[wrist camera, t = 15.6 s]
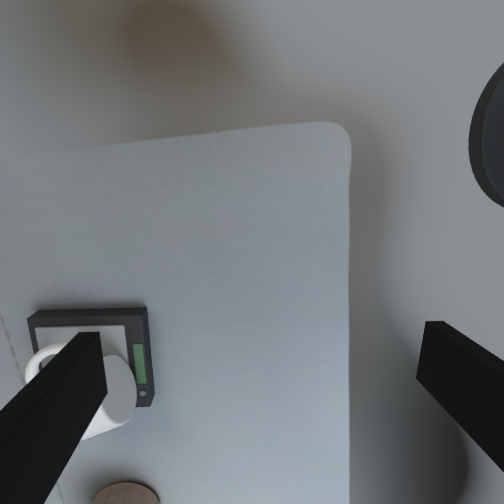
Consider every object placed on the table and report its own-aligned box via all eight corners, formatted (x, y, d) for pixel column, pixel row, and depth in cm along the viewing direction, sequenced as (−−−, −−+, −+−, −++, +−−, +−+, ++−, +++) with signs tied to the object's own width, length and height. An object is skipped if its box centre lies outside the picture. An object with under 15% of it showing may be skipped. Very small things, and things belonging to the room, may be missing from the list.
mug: (144, 389, 39) (122, 441, 31) (76, 415, 39) (38, 473, 31) (100, 315, 36) (64, 352, 28) (27, 343, 36) (-28, 388, 28)
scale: (147, 307, 39) (140, 316, 36) (154, 394, 42) (149, 409, 40) (38, 309, 38) (24, 320, 35) (55, 398, 41) (43, 414, 39)
